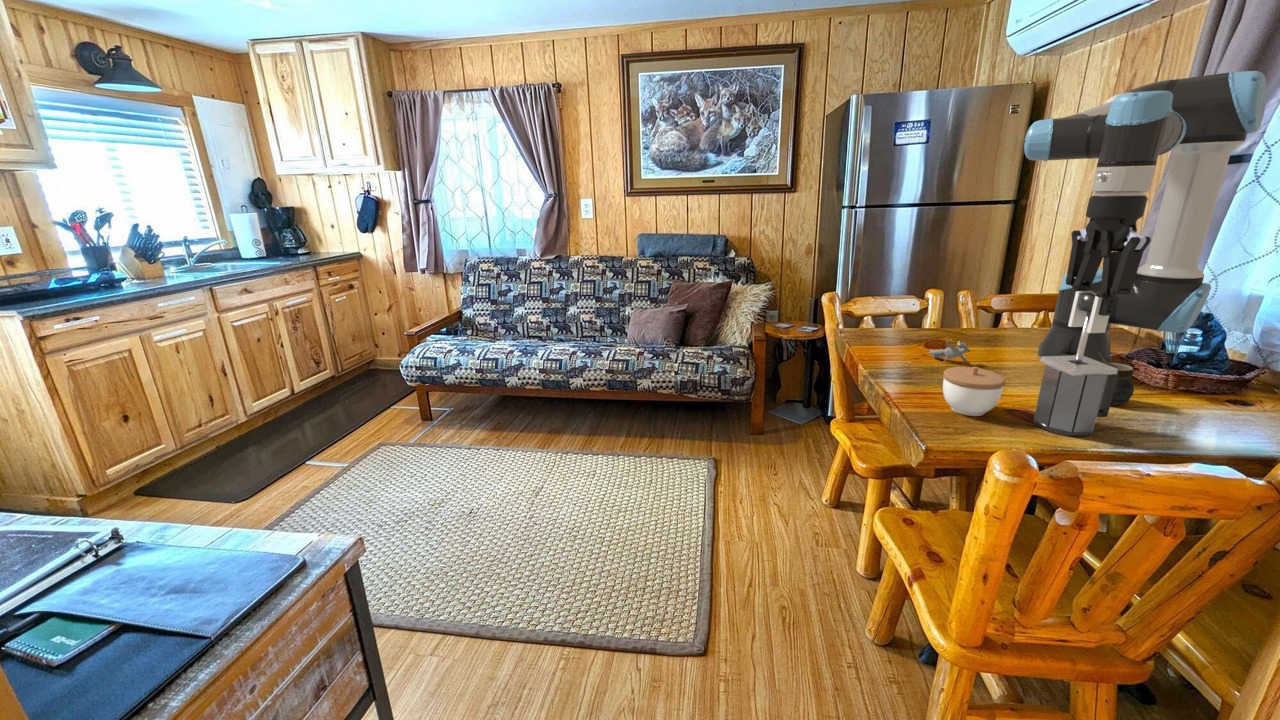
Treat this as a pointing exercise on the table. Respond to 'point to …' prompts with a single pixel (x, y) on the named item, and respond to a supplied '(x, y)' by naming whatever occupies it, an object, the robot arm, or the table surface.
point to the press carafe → (1074, 395)
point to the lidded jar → (972, 390)
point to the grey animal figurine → (951, 351)
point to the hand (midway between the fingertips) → (1086, 329)
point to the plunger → (1084, 305)
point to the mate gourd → (1121, 383)
